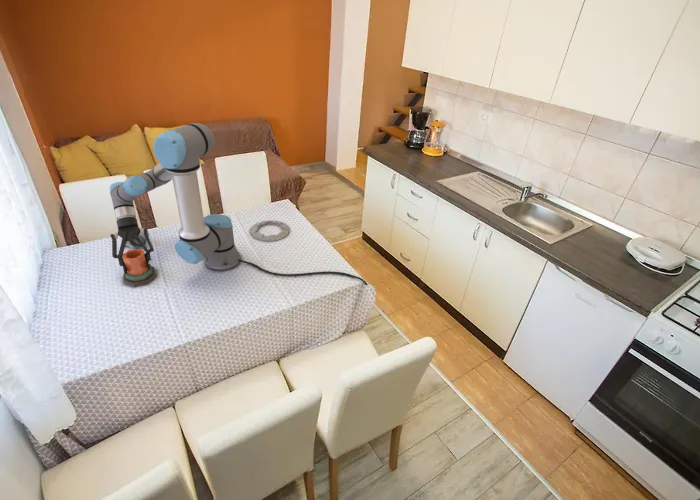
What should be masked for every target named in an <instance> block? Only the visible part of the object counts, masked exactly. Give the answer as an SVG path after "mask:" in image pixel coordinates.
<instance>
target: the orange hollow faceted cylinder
mask: <svg viewBox="0 0 700 500" xmlns="http://www.w3.org/2000/svg"><path fill="white" fill-rule="evenodd" d="M144 253H145V250H144V249H141V248H132V249H129V250H127V251H124V253H123V256H122V257H123V261H124V264H125V266H126V269H127V272H128V274H130V275H133V276H136V275H141V274H144V273H145V272H146V271H148V270H149V269H148V268H147V264H146V259H145V254H144Z"/></svg>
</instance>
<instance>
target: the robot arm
mask: <svg viewBox="0 0 700 500" xmlns="http://www.w3.org/2000/svg"><path fill="white" fill-rule="evenodd" d="M215 141H216V140H215V136H214V133H213V131H212V130H211V129H210V128H209V127H208V126H207V125H205V124H202V123H199V122H191V123H187V124H186V125H185V124H184V125H182V126H179V127H176V128H173V129H168V130H166V131H164V132H161V133H159V134H158V136H157V137H156V138H155V139H154V142H153V153H154V156H155V158H156V160H158V163H156V165H155V166H153V167H152V168H151V169H150V170H148V171H146V172H143V173H140V174H138V175H131V176H130V177H128V178H125V180H124V181H116V182H114V183H111V184H110V186H109V190H110V191H109V194H110V198H111V202H112V207H113V212H114V218H115V220H116V225H117V226H116V227H117V232H116V233H114V234H113V233H111V234H110V235H109V236H110V239H111V257H112V258H113V259H117V261H118V265H119V266H120V267H122V269H123V274H124V273H125V274H128V273H127V269H126V266H125V264H124V261H123V254H124V253H125V248H126V242H127V241H130V240H135V239H136V240H137V241H138V243H139V244H140V245H141V246H142V248H141V249H142V250H144V254H145V259H146V264H147V268H148V269H150V265H149V264H150V262H151V261H152V256H151V253H152V252H154V251H155V249H154V247H153V244H152V241H151V240H150V236H149V237H148V233H149V231H148V229H147V228H144V229H140V228H141V227H139V222H138V218H136V217H137V214H136V209H135V205H134V201H135V200H136V199H138V198H139V197H140V196H142V195H145V194H147V193H149V192H151V191H154V190H155V189H157V188H159V187H161V186H163V185H167V184H168V183H169V182H172V184H173V185H172V186H173V190H174V195H175V199H176V200H175V201H176V204H177V210H178V215H179V221H180V227H181V228H179V230H178V236H179V240H177V241H176V242H175V243H174V250H175V252H176V254H177V255H178V256H179V257H180V258H181V259H182V260H183V261H184V262H186V263H189V264H192V265H196V264H199V263H201V262H202V261H204V260H205V264H206V266H207V268H209V269H211V270H214V271H227V270H230V269H233V268H235V267H236V266H238V265H239V264H240V262H241V263H244V264H246V265H247V264H248V265H251V266H253V267H255V268H256V269H259V270H260V271H262V272H264V273H266V274H271V275H275V276H282V277H296V276H297V277H298V276H310V275H311V276H312V275H319V274H320V275H322V274H324V275H325V274H333V275H334V274H335V275H341V276H342V275H343V276H347V277H351V278H354V279H357V280H360V281H361V282H362V283H364V285H366V286H368V285H369V284H368V283H367V281H366V280H365V279H364V278H362V277H360V276H357V275H354V274H350V273H346V272H341V271H313V272H304V273H303V272H302V273H280V272H273V271H269V270H266V269H265V268H262V267H260V266H259V265H257V264H255V263H253V262H250V261H246V260H243V259H241V253H240V252H239V250H238V249H237V246H236V245H235V235H234V229H233V222H232V219H231V217H229V216H228V215H225V214H221V213H212V214H208V215H205V216H204V212H203V204H202V197H201V192H200V186H199V184H200V183H199V178H198V173H197V171H199V170H200V169H201V162H200V158H202V157H204V156H205V155H207V154H208V153H210V152H211V151H212V150H213V149H214V147H215V144H216V143H215ZM140 232H142V234H143V235H144V236H145V238H146V240H147V245H148V247H149V248H147V246H146V245H144V244H143V242H142V241H141V240H140V239H139V237H138V236H139V234H140ZM118 237H120V238H121V243H120V247H119V250H118V249H117V248H118V245H117V244H118V241H117V239H118Z"/></svg>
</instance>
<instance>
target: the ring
mask: <svg viewBox="0 0 700 500" xmlns="http://www.w3.org/2000/svg"><path fill="white" fill-rule="evenodd" d="M269 225H274V226H278V227H280V228H281V229H282V230H281V231H280V232H278V234H268V235H265V234H264V233H261V232H258V230H259V229H260V228H261V227H264V226H269ZM250 233H251V235H252V236H253V238H255V239H257V240H259V241H264V242H274V241H280V240H282V239H284V238H286V237H287V236H288V235H289V233H290V229H289V226H288V225H287V224H285V222H281V221H278V220H265V221H261V222H258V223H256V224H255V225H253V226H252V228H251V231H250Z"/></svg>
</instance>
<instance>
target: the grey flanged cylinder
mask: <svg viewBox="0 0 700 500" xmlns="http://www.w3.org/2000/svg"><path fill="white" fill-rule="evenodd" d="M139 228H140V229H145V228H144V227H139ZM138 237H139V239H140V240H141V241H142V242H143V244H144V245H145V246H146V245H148V243H147V240H146V238H145V236H144V235H143V234H142V232H140V234H139V236H138ZM148 237H149V238H150V233H149V232H148ZM125 247H133V249H143V248H142V246H141V245H140V244H139V243H138V241H137V240H136V239H135V240H130V241H127V242H126V245H125Z"/></svg>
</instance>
